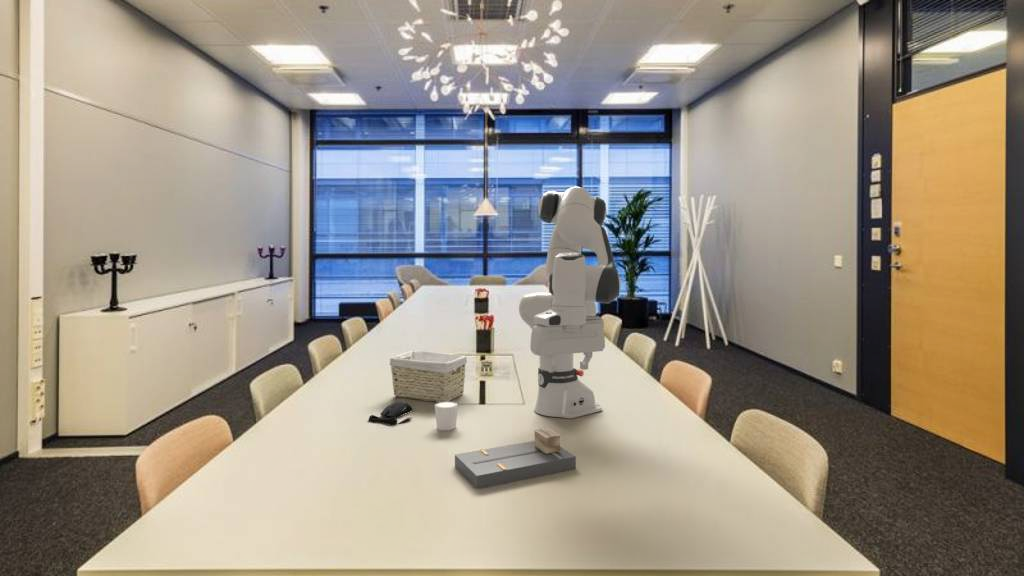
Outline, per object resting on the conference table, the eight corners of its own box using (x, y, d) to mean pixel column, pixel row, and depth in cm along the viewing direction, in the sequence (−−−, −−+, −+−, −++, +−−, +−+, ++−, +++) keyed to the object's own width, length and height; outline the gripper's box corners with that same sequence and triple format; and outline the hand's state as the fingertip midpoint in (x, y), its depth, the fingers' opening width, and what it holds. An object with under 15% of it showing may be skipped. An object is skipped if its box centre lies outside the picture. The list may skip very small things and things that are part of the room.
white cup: (453, 431, 161) (453, 408, 160) (431, 430, 162) (431, 406, 161) (460, 424, 167) (460, 401, 167) (439, 423, 169) (439, 400, 168)
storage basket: (468, 394, 203) (468, 354, 201) (446, 405, 188) (446, 362, 187) (413, 387, 212) (413, 349, 211) (388, 398, 197) (387, 357, 196)
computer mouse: (431, 413, 180) (431, 401, 180) (395, 428, 165) (395, 415, 164) (401, 408, 186) (401, 396, 186) (364, 422, 171) (364, 409, 170)
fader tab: (548, 443, 142) (548, 427, 142) (560, 451, 137) (560, 434, 136) (534, 445, 140) (534, 429, 140) (546, 453, 135) (546, 437, 134)
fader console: (547, 449, 147) (547, 437, 146) (575, 468, 134) (575, 455, 134) (454, 466, 135) (454, 453, 135) (476, 488, 123) (476, 474, 122)
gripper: (596, 314, 147) (595, 365, 148) (527, 316, 138) (527, 371, 139) (610, 316, 141) (609, 369, 142) (539, 319, 133) (538, 376, 133)
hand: (568, 370), depth 140 cm, fingers open, 8 cm apart
